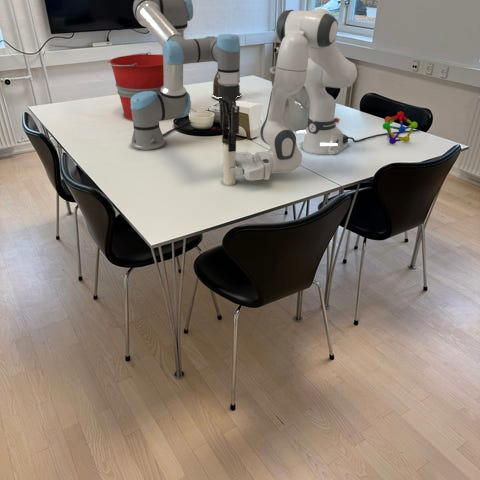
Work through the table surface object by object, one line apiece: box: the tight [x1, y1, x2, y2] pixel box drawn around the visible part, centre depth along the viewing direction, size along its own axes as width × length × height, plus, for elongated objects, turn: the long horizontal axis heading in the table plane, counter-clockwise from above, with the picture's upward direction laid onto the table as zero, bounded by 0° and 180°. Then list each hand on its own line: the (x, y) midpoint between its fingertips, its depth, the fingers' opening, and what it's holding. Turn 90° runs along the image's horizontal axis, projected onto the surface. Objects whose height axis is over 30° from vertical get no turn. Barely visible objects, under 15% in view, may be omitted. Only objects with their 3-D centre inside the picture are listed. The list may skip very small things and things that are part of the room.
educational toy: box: [382, 110, 418, 145], centre depth 207 cm, size 16×13×15 cm
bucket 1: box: [106, 51, 164, 121], centre depth 240 cm, size 35×35×30 cm
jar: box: [222, 142, 237, 186], centre depth 167 cm, size 5×5×18 cm
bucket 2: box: [269, 65, 310, 131], centre depth 226 cm, size 30×30×28 cm
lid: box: [221, 135, 228, 144], centre depth 163 cm, size 5×5×2 cm
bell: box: [212, 70, 242, 97], centre depth 278 cm, size 19×26×20 cm
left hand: (229, 148), depth 164 cm, fingers closed on lid, 5 cm apart
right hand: (227, 167), depth 168 cm, fingers closed on jar, 5 cm apart
